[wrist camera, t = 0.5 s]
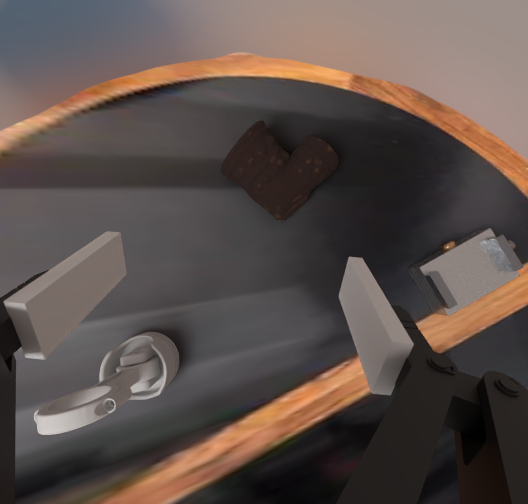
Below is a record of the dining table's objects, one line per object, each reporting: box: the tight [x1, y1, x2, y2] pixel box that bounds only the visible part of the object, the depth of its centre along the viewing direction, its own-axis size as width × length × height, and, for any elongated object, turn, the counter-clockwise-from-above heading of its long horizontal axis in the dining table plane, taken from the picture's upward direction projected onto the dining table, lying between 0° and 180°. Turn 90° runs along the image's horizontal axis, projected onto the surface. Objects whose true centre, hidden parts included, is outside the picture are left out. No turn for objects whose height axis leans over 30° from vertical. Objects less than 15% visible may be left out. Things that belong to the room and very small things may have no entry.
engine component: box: [34, 332, 179, 435], centre depth 37 cm, size 11×20×10 cm
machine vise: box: [407, 228, 523, 316], centre depth 47 cm, size 10×17×6 cm, turn 118°
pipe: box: [221, 120, 339, 220], centre depth 48 cm, size 10×15×15 cm
